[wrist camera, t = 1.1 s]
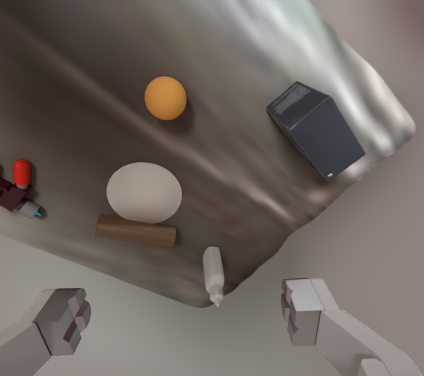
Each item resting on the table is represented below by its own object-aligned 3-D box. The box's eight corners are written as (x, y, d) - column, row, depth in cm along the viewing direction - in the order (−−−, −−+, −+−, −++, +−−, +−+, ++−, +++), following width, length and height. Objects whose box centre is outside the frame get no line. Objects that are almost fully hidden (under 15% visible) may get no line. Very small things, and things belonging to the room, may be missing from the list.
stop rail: (100, 214, 48) (96, 225, 46) (176, 226, 51) (176, 237, 49) (99, 224, 49) (95, 235, 47) (173, 236, 53) (173, 247, 50)
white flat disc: (111, 154, 42) (110, 154, 42) (190, 171, 45) (190, 172, 45) (103, 217, 48) (103, 217, 48) (173, 228, 52) (173, 229, 51)
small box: (331, 128, 44) (369, 154, 35) (298, 153, 46) (327, 184, 37) (298, 78, 39) (333, 94, 30) (263, 108, 41) (287, 132, 32)
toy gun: (40, 217, 48) (27, 235, 43) (-34, 178, 42) (-57, 195, 38) (69, 182, 45) (58, 198, 40) (-7, 136, 39) (-28, 149, 35)
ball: (150, 67, 36) (146, 74, 31) (190, 80, 38) (192, 88, 33) (143, 107, 39) (139, 119, 34) (181, 117, 40) (181, 130, 36)
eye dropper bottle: (227, 251, 56) (237, 301, 46) (209, 266, 58) (216, 317, 48) (212, 242, 55) (219, 292, 45) (194, 258, 57) (198, 309, 46)
